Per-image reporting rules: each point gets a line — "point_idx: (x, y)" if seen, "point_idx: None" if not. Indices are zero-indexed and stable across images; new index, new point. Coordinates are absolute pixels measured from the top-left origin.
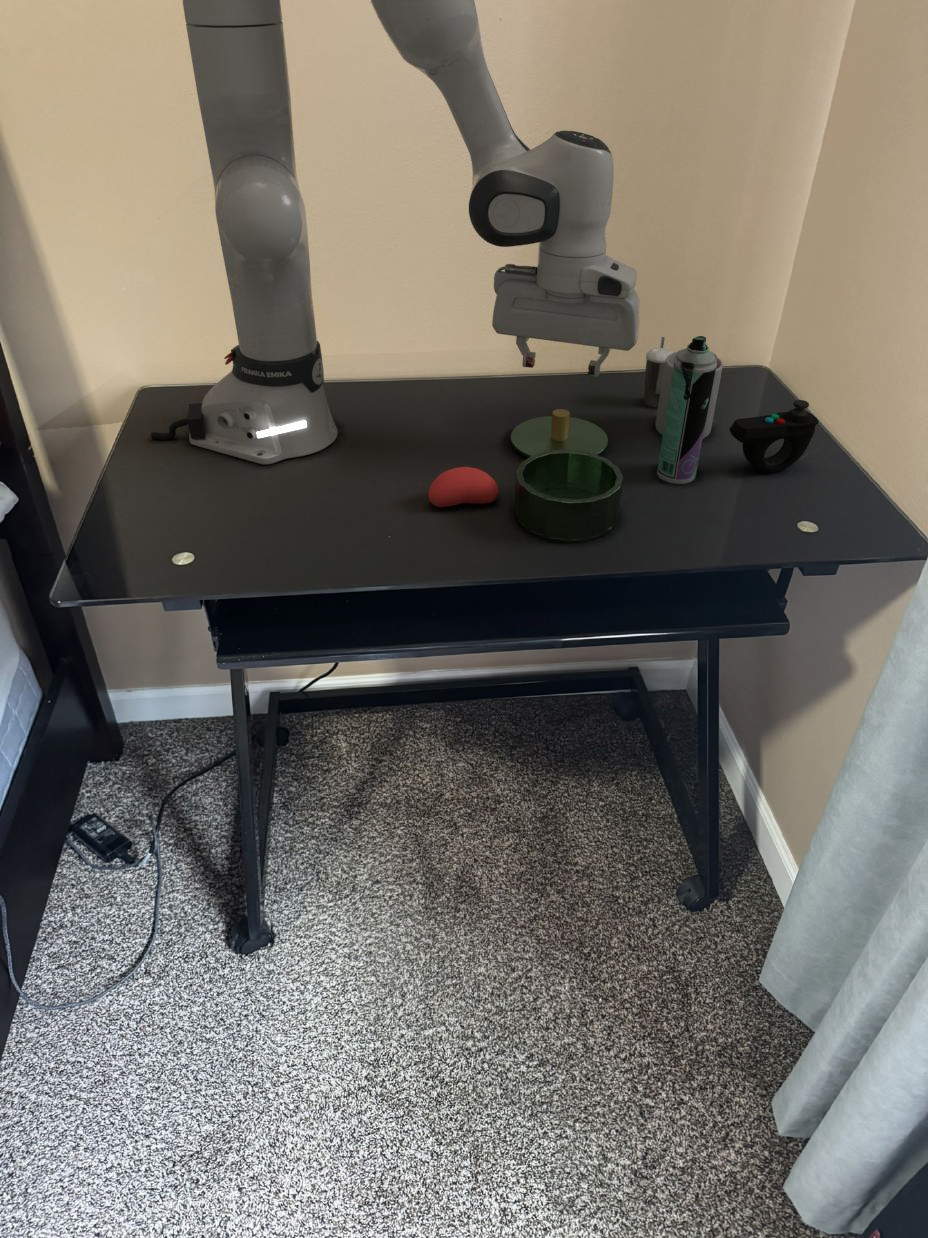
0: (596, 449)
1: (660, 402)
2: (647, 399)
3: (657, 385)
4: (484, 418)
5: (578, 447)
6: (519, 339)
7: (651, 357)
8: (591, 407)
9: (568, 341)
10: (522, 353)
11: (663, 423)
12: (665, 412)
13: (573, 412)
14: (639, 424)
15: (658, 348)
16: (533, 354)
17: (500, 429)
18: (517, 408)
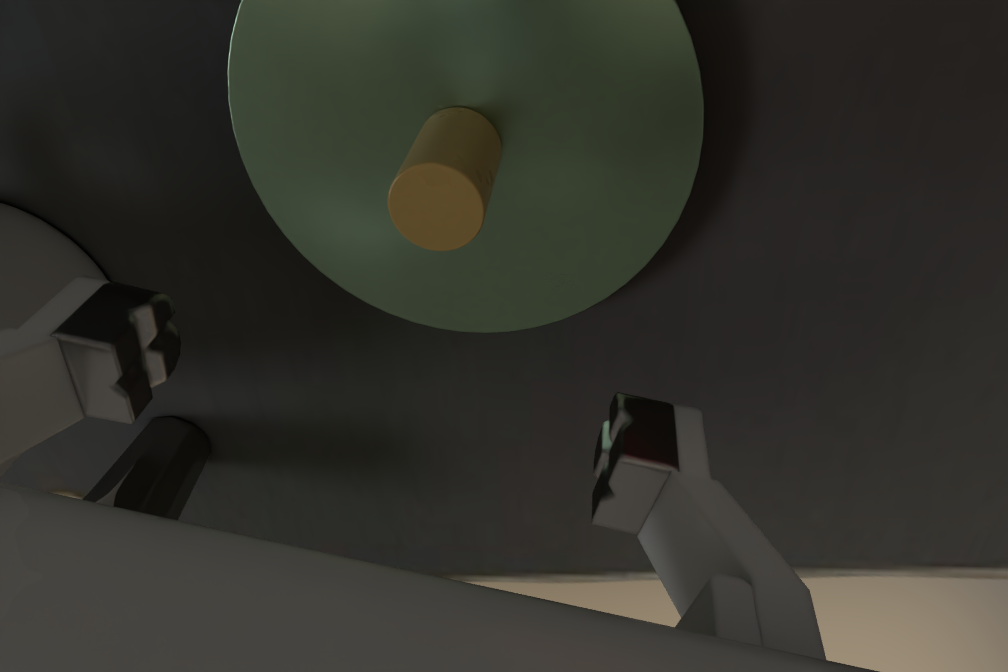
0: (263, 33)
1: None
2: (183, 441)
3: (121, 476)
4: (789, 338)
5: (354, 47)
6: (784, 625)
7: None
8: (372, 416)
9: (191, 536)
10: (720, 493)
11: (39, 264)
12: (4, 293)
13: (431, 385)
14: (180, 313)
15: None
16: (611, 496)
17: (731, 254)
18: None
